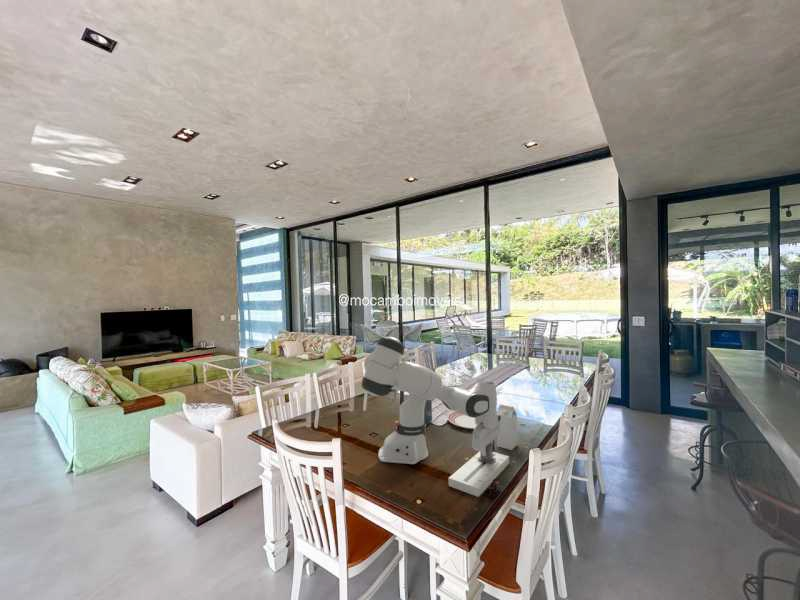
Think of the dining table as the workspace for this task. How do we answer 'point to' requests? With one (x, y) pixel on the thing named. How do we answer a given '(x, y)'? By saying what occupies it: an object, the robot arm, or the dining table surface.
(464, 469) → the console board
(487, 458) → the fader tab
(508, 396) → the dining table surface
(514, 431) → the milk carton
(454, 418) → the dinner plate
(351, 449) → the dining table surface
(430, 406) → the bottle
